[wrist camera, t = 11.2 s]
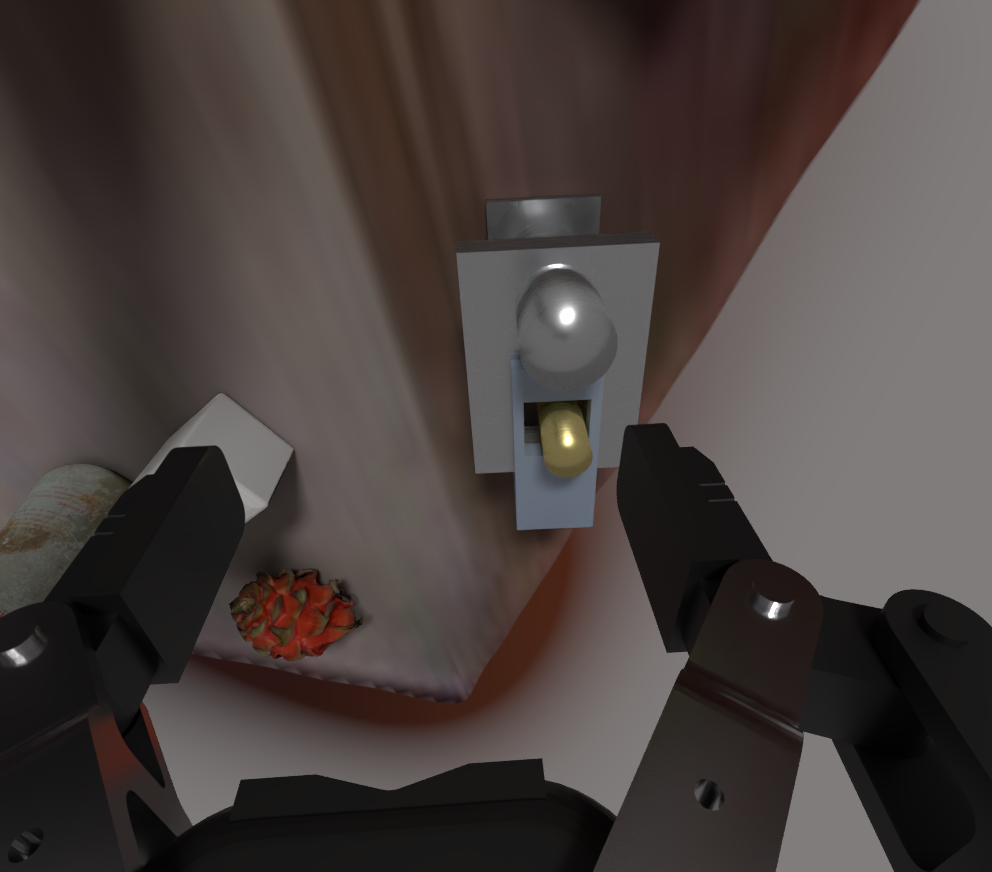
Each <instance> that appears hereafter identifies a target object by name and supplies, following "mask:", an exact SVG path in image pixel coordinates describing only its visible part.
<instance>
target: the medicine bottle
mask: <svg viewBox="0 0 992 872" xmlns="http://www.w3.org/2000/svg"><path fill="white" fill-rule="evenodd" d="M211 445H216V446H218V447H219V448H220V449H221V450H222V452H223V453H224V456H225V458H226V461H227V463H228V466H229V468H230V471H231V473H232V476H233V478H234V481H235V483H236V486H237V488H238V491H239V493H240V496H241V499H242V501H243V504H244V509H245V523H246V522H248V521H249V520H250V519H252V518H253V517H254V516H256V515H257V514H259V513H260V512H261V511H263V510H264V509H265V508H266V507H267V506H268V505H269V502H270V500H271V498H272V496H273V494H274V492H275V490H276V488H277V485H278V483H279V481H280V479H281V477H282V475H283V473H284V471H285V469H286V466H287V464H288V462H289V460H290V458H291V456H292V454H293V448H292V447H291V446H290V445H289V444H288V443H286V442H285V441H284V440H282V439H281V438H280V437H279V436H277V435H276V434H275V433H274V432H272V431H271V430H270V429H268V428H267V427H266V426H265V425H263V424H262V423H261V422H260V421H258V420H257V419H256V418H255V417H253V416H252V415H251V414H249V413H248V412H247V411H246V410H244V409H243V408H242V407H241V406H239V405H238V404H237V403H235V402H234V401H233V400H232V399H230V398H229V397H228V396H227V395H225V394H223V393H220V394H218V395H216V396H215V397H214V398H213V399H212V400H211V401H210V402H209V403H208V404H206V405H205V406H204V407H203V408H202V409H201V410H200V411H199V412H198V413H196V414H195V415H194V416H193V417H192V418H191V419H190V420H189V421H187V422H186V423H185V424H184V425H183V426H182V427H181V428H180V429H179V430H177V431H176V432H175V433H174V434H173V435H172V436H171V437H170V438H169V439H168V440H167V441H166V442H165V444H164V445H163V446H162V447H161V448H160V450H159V451H158V452H157V453H156V455H155V456H154V457H153V458H152V460H151V461H150V462H149V463H148V465H147V466H146V467H145V468H144V470H143V471H142V472H141V473H140V475H139V476H138V477H137V478H136V480H135V481H134V482H133V483H132V484H131V486H133V485H134V484H135V483H137V482H138V481H139V480H140V479H142V478H143V477H144V476H146V475H148V474H154V473H155V472H156V470H157V469H158V467H159V466H160V464H161V463H162V462H163V460H164V459H165V457H166V456H167V454H168V453H169V452H170V450H172V449H173V448H175V447H191V446H211ZM131 486H130V487H131ZM130 487H129V488H130ZM129 488H128V489H129Z"/></svg>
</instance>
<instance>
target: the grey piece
mask: <svg viewBox="0 0 992 872" xmlns="http://www.w3.org/2000/svg"><path fill="white" fill-rule="evenodd" d="M600 207H601V196H600V194H580V195H561V196H542V197H523V198H504V199H486V211H487V230H488V240H477V241H458V246H457V265H458V276H459V288H460V299H461V311H462V322H463V334H464V345H465V357H466V368H467V380H468V391H469V403H470V414H471V426H472V437H473V449H474V461H475V472H476V474H477V473H498V472H515V466H514V437H513V407H512V378H511V360H513V359H521V362H522V364H523V367H524V369H525V370H526V372H527V373H528V375H529V376H530V377H531V378H532V379H533V380H534V381H536V382H537V383H538V384H540V385H542V386H544V387H546V388H549V389H553V390H558V391H571V390H577V389H581V388H584V387H586V386H588V385H591V384H592V383H594V382H596V381H597V380H598V379H600V378H601V377H602V376H603V375H604V383H603V396H602V410H601V423H600V436H599V449H598V462H597V468H606V467H619V464H620V457H621V450H622V443H623V436H624V431H625V428H626V426H627V425H637V424H638V416H639V408H640V400H641V392H642V383H643V375H644V367H645V359H646V351H647V343H648V335H649V326H650V318H651V310H652V302H653V294H654V286H655V278H656V269H657V261H658V253H659V245H660V242H659V241H658V240H657V239H656V238H655V237H654V236H653V234H652V233H651V232H631V233H611V234H599V223H600ZM587 402H588V400H582V406H581V411H582V415H583V419H584V422H585V426H586V419H587ZM530 444H542V440H541V432H540V426H524V445H530Z"/></svg>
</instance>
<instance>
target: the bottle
mask: <svg viewBox="0 0 992 872" xmlns="http://www.w3.org/2000/svg"><path fill="white" fill-rule="evenodd" d="M131 484H132V483H130V482H129V481H128V480H127V479H124V478H122V477H121V476H119V475H117V474H115V473H113V472H112V471H110V470H108V469H105V468H103V467H99V466H96V465H92V464H70V465H64V466H61V467H58V468H56V469H53V470H51V471H49V472H48V473H46V474H45V475H43V476H42V477H41V478H40V479H39V480H38V482H37V483H36V484H35V485H34V487H33V488H32V489H31V491H30V492H29V494H28V495H27V497H26V498H25V499H24V501H23V502H22V503H21V505H20V506H19V508H18V509H17V511H16V512H15V513H14V515H13V516H12V518H11V519H10V520H9V522H8V523H7V524H6V526H5V527H4V528H3V530H2V531H1V532H0V618H1V617H3V616H4V615H6V614H8V613H10V612H12V611H14V610H17V609H19V608H22V607H24V606H27V605H31V604H35V603H39V602H43V601H44V600H45V598H46V597H47V596H48V594H49V593H50V592H51V590H52V589H53V587H54V586H55V585H56V583H57V582H58V581H59V579H60V578H61V577H62V575H63V574H64V572H65V571H66V570H67V568H68V567H69V566H70V564H71V563H72V562H73V560H74V559H75V557H76V556H77V555H78V553H79V552H80V551H81V549H82V548H83V547H84V545H85V544H86V542H87V541H88V540H89V538H90V537H91V536H94V535H95V532H94V531H95V530H96V529H97V527H98V526H99V525H100V523H101V522H102V521H103V519H104V518H107V517H108V516H107V514H108V512H109V511H110V510H111V508H112V507H113V506H114V504H115V503H116V501H117V500H118V499H119V497H120V496H121V495H122V493H124V492H125V491H126V490H127V489H128V488H129V487H130V486H131Z"/></svg>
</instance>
